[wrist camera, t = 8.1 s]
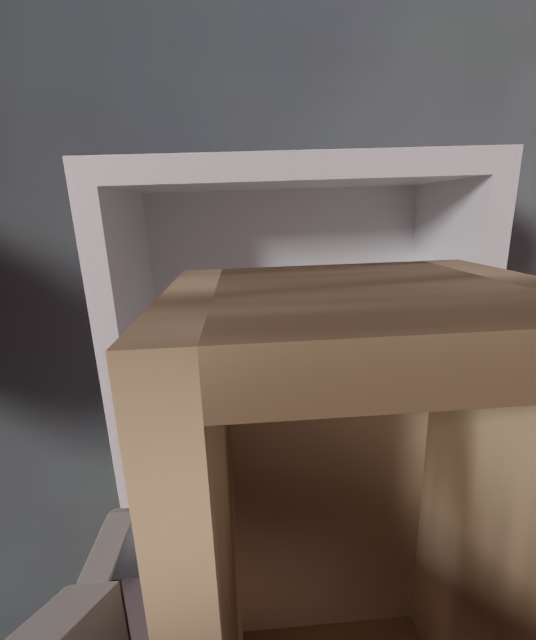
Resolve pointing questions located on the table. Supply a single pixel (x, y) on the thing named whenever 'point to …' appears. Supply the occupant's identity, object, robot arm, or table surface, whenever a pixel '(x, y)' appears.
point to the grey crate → (275, 220)
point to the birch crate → (333, 452)
